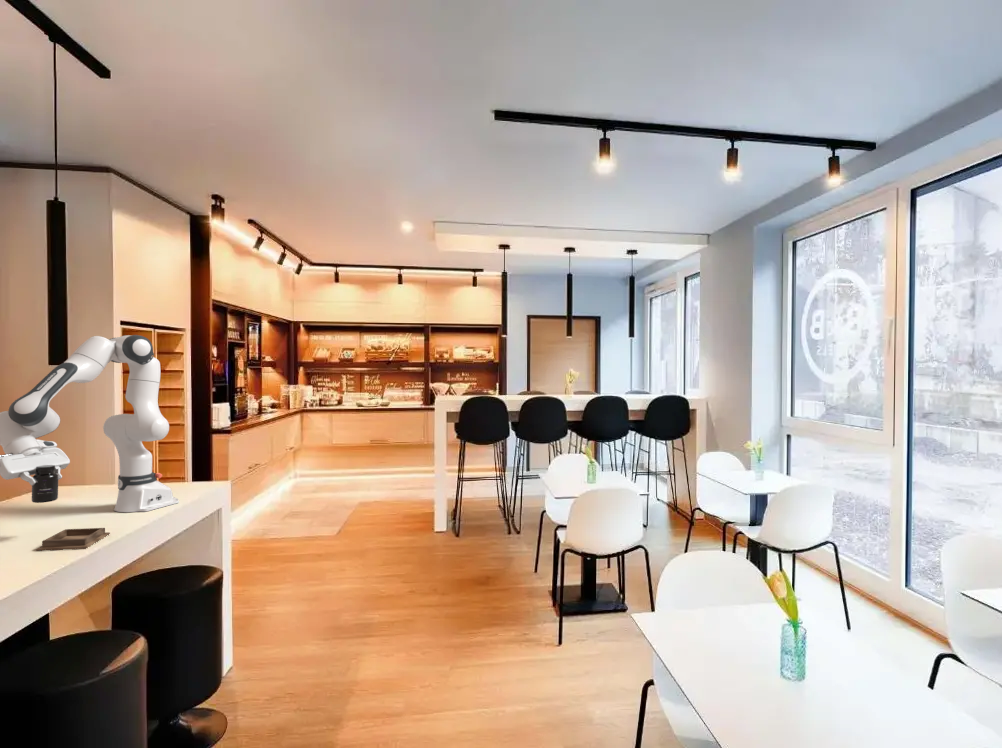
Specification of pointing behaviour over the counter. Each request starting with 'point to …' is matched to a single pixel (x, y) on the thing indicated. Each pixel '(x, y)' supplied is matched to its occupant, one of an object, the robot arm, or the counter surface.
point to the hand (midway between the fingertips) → (47, 481)
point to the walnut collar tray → (73, 539)
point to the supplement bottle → (45, 484)
